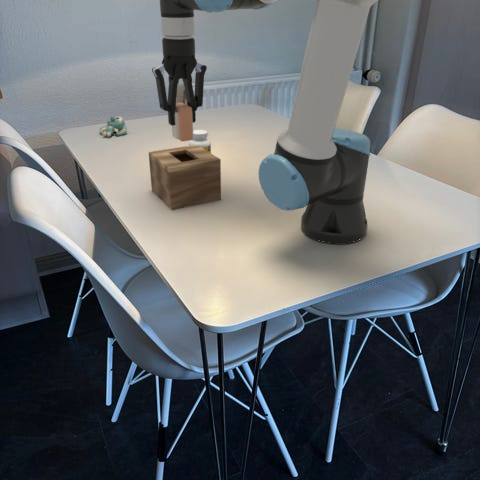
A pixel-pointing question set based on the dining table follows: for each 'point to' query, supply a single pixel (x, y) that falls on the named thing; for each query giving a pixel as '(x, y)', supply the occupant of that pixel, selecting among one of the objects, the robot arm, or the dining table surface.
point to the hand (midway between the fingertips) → (182, 136)
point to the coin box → (185, 176)
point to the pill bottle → (201, 140)
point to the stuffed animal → (114, 126)
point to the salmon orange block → (184, 122)
